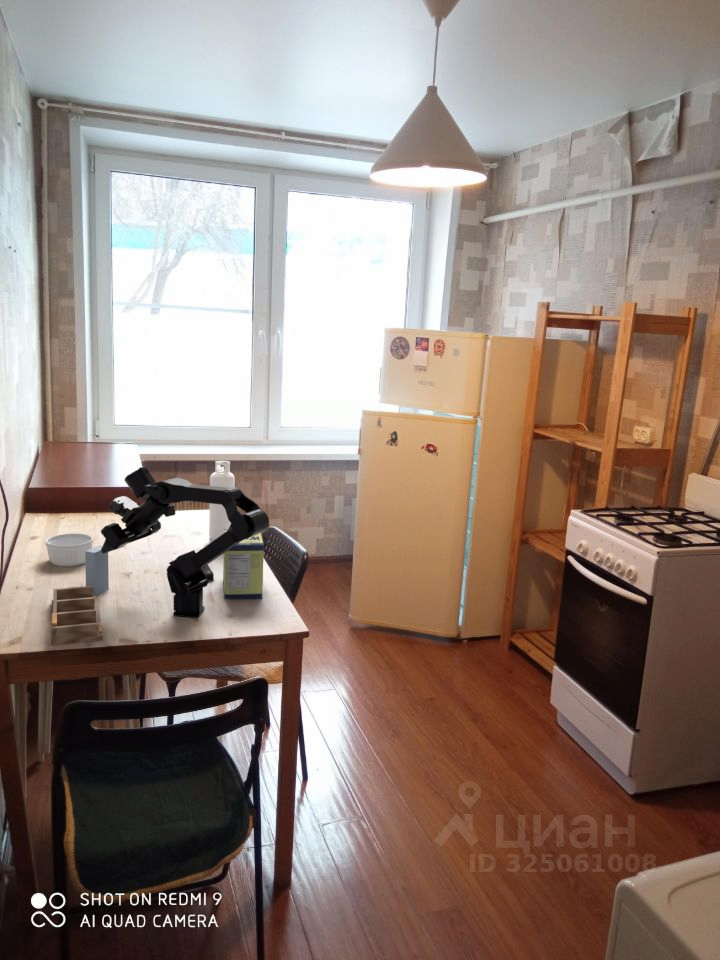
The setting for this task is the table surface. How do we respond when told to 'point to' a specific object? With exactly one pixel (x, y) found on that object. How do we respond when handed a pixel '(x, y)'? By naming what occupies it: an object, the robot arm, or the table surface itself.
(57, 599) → the rack
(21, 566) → the table surface
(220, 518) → the bottle
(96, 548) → the blanking panel
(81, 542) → the ramekin
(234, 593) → the protein box
